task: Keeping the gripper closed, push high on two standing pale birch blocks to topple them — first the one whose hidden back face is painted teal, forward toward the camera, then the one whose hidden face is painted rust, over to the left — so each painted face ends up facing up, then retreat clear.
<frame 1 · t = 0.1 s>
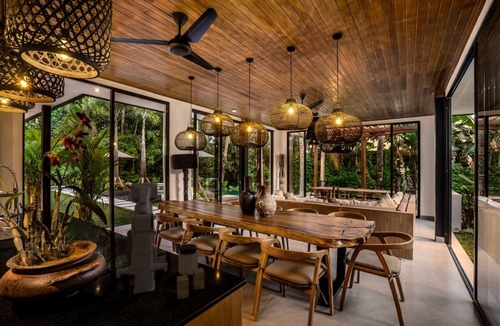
hand: (142, 296, 79), 10 cm above the kitchen island, fingers open, 7 cm apart
block: (141, 269, 123), on the kitchen island
rust face block: (198, 287, 105), on the kitchen island
jar: (188, 271, 121), on the kitchen island
teal face block: (182, 295, 98), on the kitchen island
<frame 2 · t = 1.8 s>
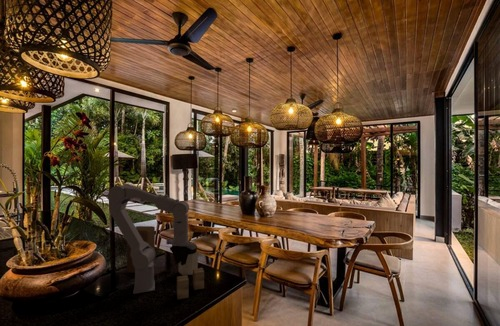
hand: (180, 263, 105), 10 cm above the kitchen island, fingers closed
nothing on the kitchen island moved.
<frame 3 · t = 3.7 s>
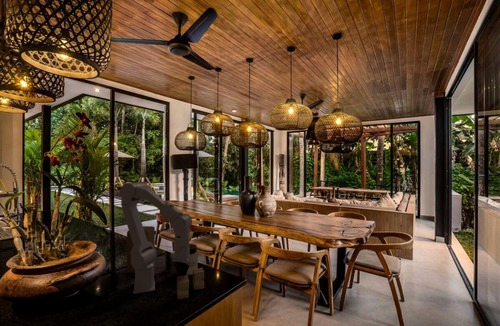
hand: (182, 279, 100), 5 cm above the kitchen island, fingers closed
teal face block: (182, 294, 98), on the kitchen island, tilted 12°, touching gripper
everything else where it was.
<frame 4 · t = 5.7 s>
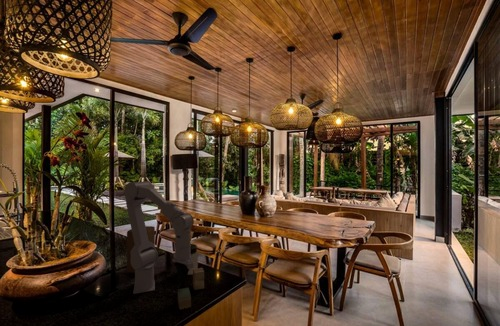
hand: (182, 281, 97), 6 cm above the kitchen island, fingers closed
teal face block: (183, 293, 96), point 2 cm above the kitchen island, tilted 90°
everything else where it was.
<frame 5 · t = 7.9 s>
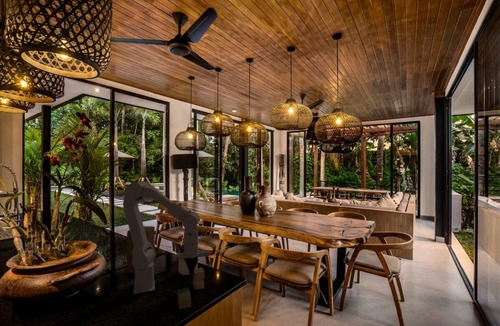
hand: (191, 275, 104), 5 cm above the kitchen island, fingers closed
rust face block: (198, 286, 105), on the kitchen island, touching gripper
everything else where it was.
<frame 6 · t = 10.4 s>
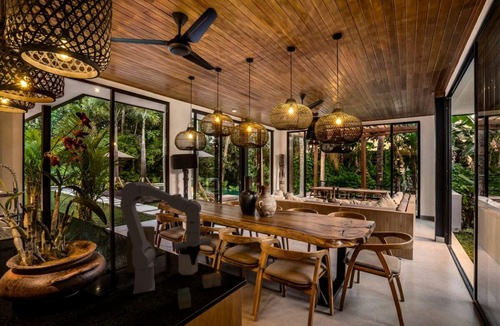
hand: (193, 264, 105), 10 cm above the kitchen island, fingers closed
rust face block: (203, 281, 106), point 2 cm above the kitchen island, tilted 90°
everything else where it was.
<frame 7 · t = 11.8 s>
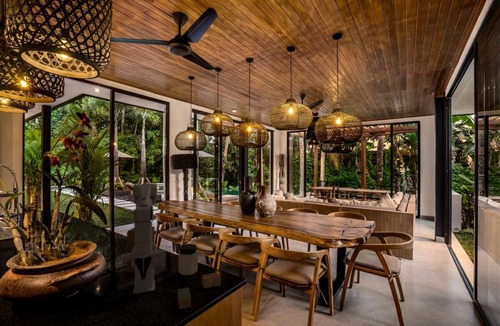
hand: (143, 278, 90), 10 cm above the kitchen island, fingers closed
nothing on the kitchen island moved.
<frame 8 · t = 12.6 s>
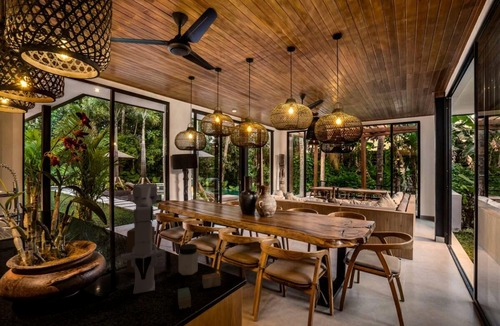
hand: (143, 278, 90), 10 cm above the kitchen island, fingers closed
nothing on the kitchen island moved.
at the end: teal face block tilted 90°; teal face block inside the target area (2.2 cm from its centre), point 1.8 cm above the kitchen island; rust face block tilted 90° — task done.
